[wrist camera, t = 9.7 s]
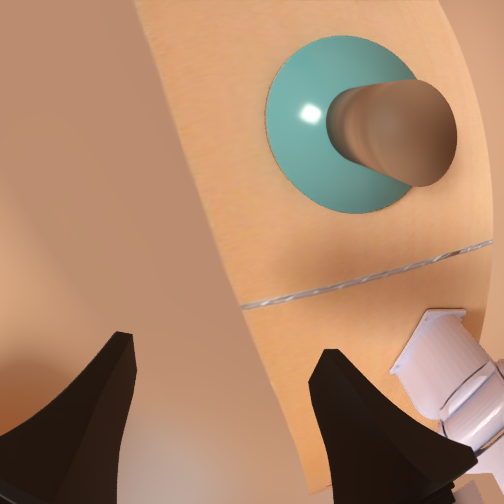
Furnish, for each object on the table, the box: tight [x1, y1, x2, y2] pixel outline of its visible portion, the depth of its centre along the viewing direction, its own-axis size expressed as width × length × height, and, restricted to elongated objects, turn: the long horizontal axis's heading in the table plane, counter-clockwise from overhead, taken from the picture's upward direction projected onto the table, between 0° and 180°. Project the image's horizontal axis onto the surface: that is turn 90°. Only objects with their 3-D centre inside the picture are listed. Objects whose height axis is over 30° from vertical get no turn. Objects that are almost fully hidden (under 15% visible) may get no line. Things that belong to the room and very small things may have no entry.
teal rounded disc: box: [265, 36, 417, 214], centre depth 16 cm, size 12×12×1 cm
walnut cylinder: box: [326, 79, 457, 187], centre depth 12 cm, size 5×5×6 cm
